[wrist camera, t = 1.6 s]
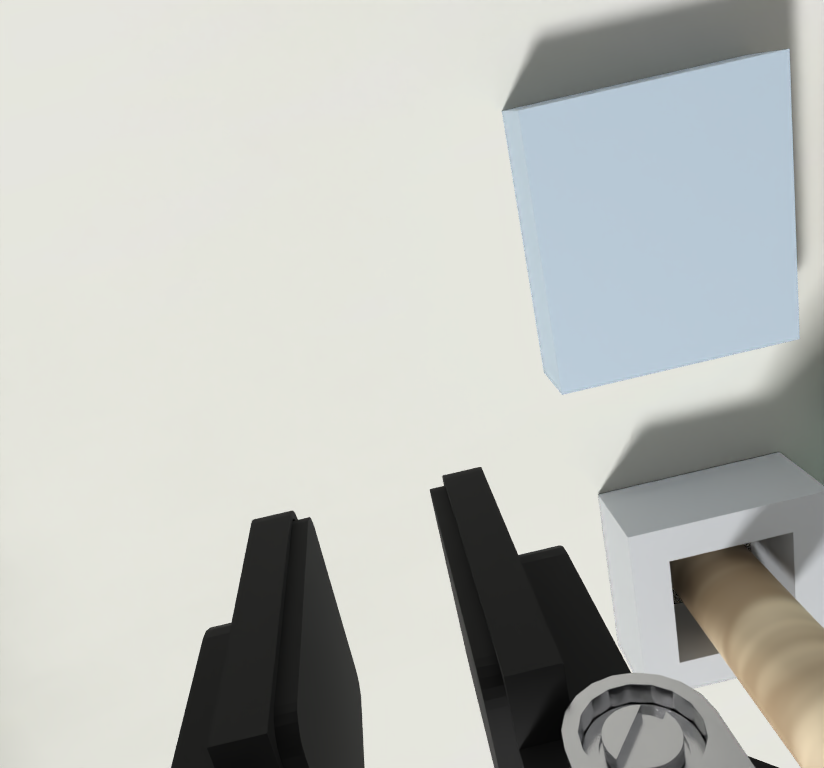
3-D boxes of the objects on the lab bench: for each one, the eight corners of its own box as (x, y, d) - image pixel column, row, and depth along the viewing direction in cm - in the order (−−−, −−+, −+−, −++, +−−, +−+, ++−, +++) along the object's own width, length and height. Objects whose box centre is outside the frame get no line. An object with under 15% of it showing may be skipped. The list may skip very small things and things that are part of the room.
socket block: (598, 494, 32) (627, 537, 29) (779, 451, 32) (829, 490, 29) (618, 644, 35) (647, 699, 32) (785, 604, 35) (832, 655, 32)
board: (499, 110, 27) (518, 110, 24) (742, 55, 27) (789, 48, 25) (541, 368, 31) (561, 394, 28) (757, 318, 31) (799, 339, 28)
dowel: (653, 527, 33) (818, 740, 22) (731, 509, 33) (935, 711, 22) (661, 593, 34) (820, 827, 23) (736, 575, 34) (931, 800, 23)
